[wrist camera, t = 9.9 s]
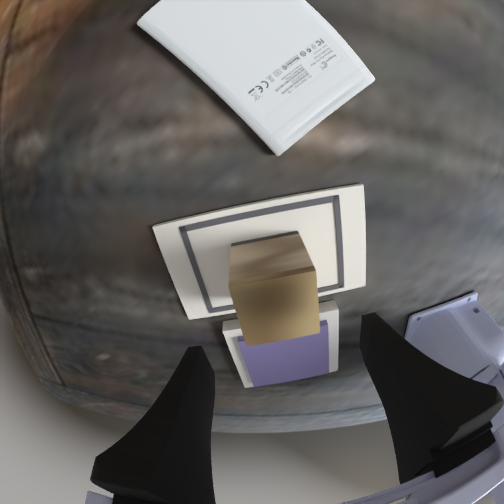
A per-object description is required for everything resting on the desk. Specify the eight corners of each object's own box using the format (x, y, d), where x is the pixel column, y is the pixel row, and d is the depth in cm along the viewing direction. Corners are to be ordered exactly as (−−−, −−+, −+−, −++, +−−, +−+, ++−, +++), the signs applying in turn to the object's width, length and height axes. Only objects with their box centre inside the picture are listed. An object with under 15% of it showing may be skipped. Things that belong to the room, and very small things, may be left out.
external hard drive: (238, -41, 10) (367, 81, 14) (143, 29, 12) (274, 154, 17) (238, -52, 8) (378, 79, 13) (134, 23, 11) (277, 157, 15)
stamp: (297, 230, 18) (315, 270, 13) (304, 285, 20) (320, 332, 15) (231, 243, 18) (228, 287, 14) (245, 296, 20) (246, 346, 16)
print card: (360, 183, 17) (364, 185, 16) (363, 282, 21) (365, 286, 20) (153, 225, 18) (151, 227, 17) (189, 316, 21) (188, 320, 21)
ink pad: (334, 299, 21) (340, 314, 20) (334, 361, 25) (339, 375, 23) (223, 321, 22) (222, 336, 20) (244, 378, 25) (245, 392, 24)
